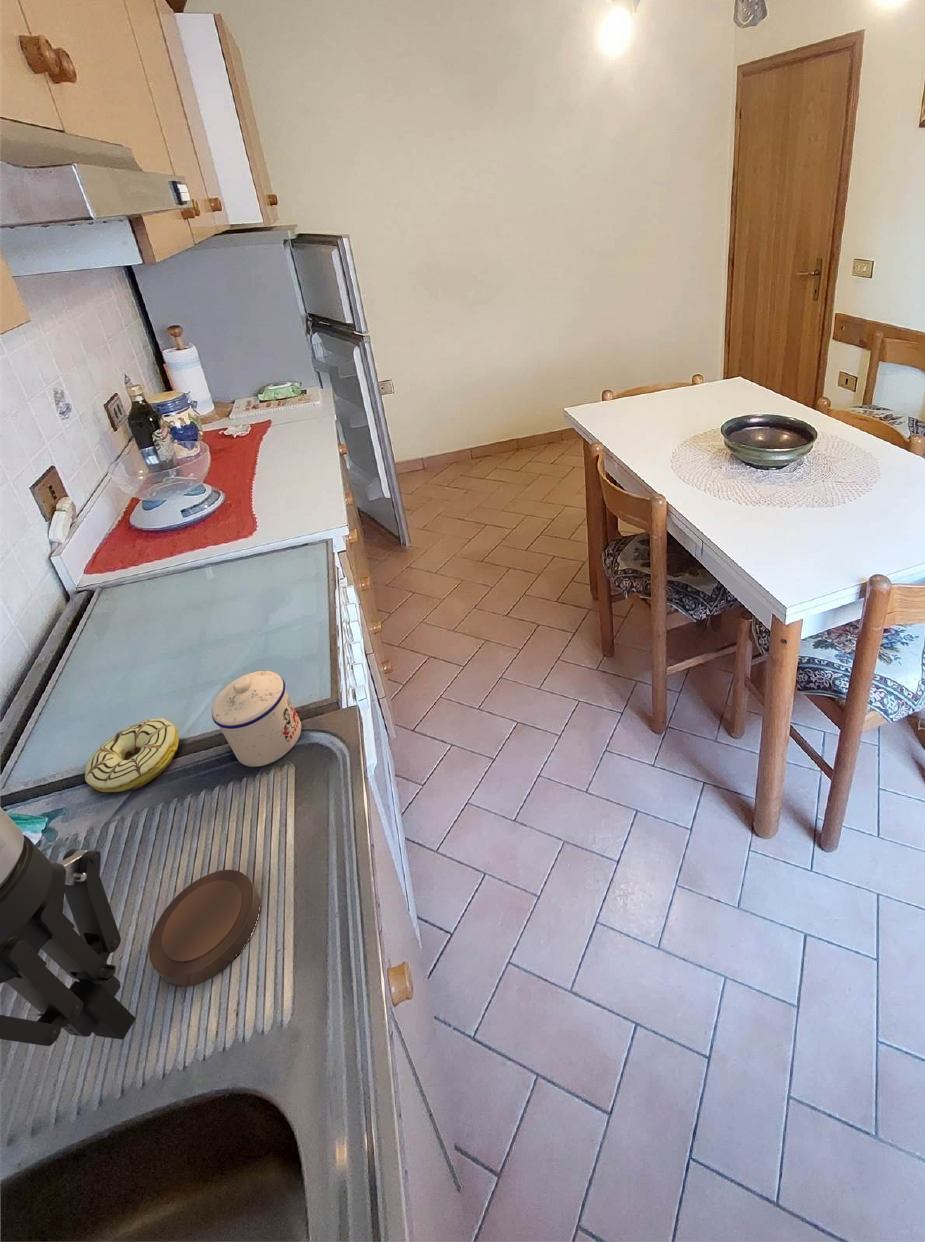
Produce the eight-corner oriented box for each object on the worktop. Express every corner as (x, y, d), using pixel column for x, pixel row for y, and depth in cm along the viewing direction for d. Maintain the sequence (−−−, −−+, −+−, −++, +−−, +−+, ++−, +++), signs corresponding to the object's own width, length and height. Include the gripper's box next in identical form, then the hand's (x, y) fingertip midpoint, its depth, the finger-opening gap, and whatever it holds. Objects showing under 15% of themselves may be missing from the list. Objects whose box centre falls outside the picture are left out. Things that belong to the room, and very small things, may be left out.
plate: (135, 980, 63) (124, 969, 62) (200, 876, 71) (192, 864, 70) (223, 992, 61) (214, 981, 60) (278, 884, 70) (272, 872, 69)
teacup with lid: (307, 749, 85) (279, 691, 80) (235, 781, 82) (201, 722, 76) (298, 690, 95) (273, 634, 89) (234, 717, 91) (203, 660, 86)
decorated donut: (127, 733, 90) (115, 716, 89) (198, 729, 90) (187, 711, 88) (75, 802, 81) (61, 784, 79) (154, 797, 81) (142, 779, 79)
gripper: (-93, 1002, 37) (93, 1138, 49) (85, 797, 49) (202, 946, 60) (-190, 987, 39) (13, 1123, 50) (5, 791, 50) (134, 938, 61)
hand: (116, 1027), depth 55 cm, fingers closed
